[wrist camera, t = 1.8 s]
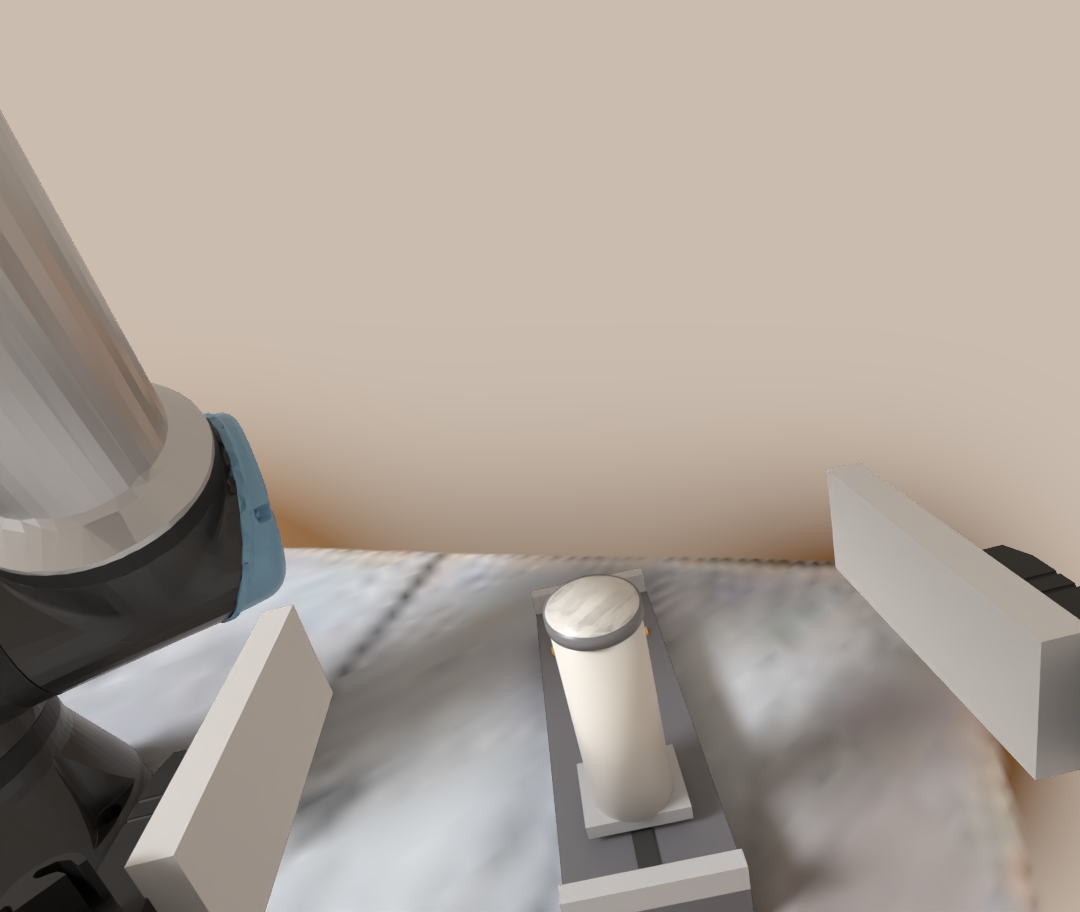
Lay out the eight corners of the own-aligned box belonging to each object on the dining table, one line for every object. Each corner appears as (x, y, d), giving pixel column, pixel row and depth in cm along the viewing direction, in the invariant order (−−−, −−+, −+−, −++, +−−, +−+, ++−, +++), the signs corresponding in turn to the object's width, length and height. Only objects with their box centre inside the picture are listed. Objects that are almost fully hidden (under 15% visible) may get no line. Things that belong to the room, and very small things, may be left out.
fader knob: (695, 823, 31) (661, 624, 26) (589, 845, 31) (536, 651, 26) (673, 750, 35) (640, 564, 30) (578, 769, 35) (530, 587, 30)
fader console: (755, 924, 30) (748, 866, 28) (577, 959, 30) (559, 904, 28) (648, 611, 50) (640, 567, 48) (542, 634, 50) (531, 591, 48)
